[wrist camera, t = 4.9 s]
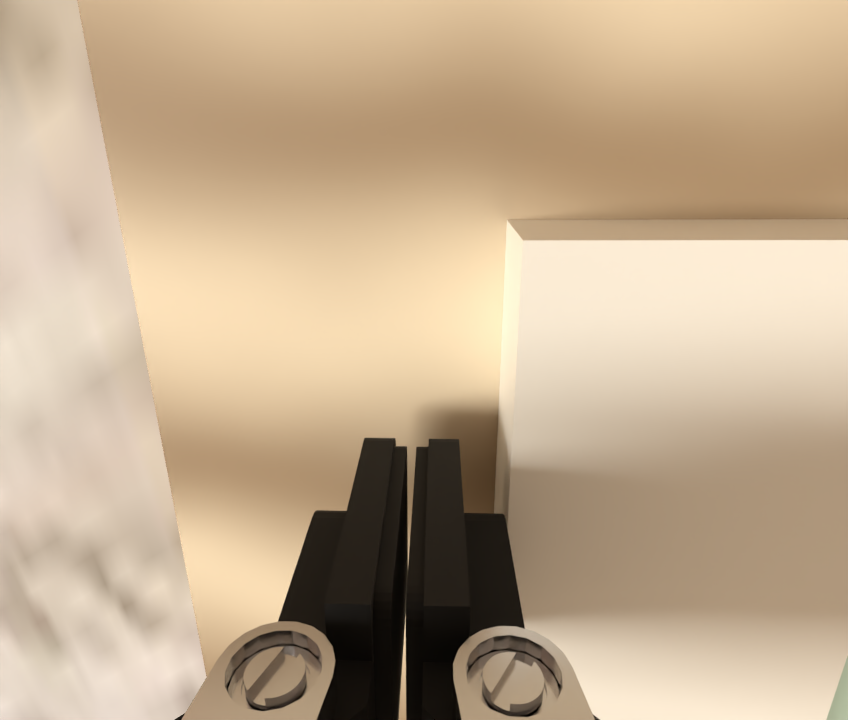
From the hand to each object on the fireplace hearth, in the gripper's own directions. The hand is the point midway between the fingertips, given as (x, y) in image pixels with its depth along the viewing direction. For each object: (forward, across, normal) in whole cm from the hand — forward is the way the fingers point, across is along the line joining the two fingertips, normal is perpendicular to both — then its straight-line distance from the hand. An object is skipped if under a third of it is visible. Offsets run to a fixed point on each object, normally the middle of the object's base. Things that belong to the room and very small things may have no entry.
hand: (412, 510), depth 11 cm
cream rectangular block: (+1, -5, 0) cm, 5 cm away
